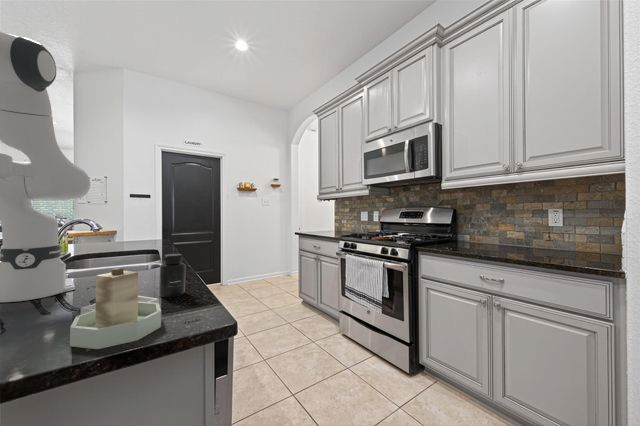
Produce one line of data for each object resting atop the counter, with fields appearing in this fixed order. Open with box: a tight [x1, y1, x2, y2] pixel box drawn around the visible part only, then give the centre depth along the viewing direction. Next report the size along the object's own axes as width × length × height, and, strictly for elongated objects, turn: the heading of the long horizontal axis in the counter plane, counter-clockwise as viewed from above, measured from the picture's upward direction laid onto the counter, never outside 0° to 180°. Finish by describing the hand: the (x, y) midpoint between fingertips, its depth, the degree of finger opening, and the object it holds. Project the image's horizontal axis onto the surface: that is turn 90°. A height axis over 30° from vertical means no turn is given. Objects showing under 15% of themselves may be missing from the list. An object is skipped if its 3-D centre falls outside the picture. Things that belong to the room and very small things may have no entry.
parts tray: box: [80, 295, 160, 315], centre depth 66 cm, size 11×11×2 cm
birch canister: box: [95, 267, 139, 328], centre depth 55 cm, size 5×5×12 cm
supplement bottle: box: [158, 253, 186, 299], centre depth 79 cm, size 7×7×12 cm
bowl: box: [69, 302, 162, 350], centre depth 55 cm, size 14×14×4 cm
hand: (19, 173), depth 49 cm, fingers open, 8 cm apart
